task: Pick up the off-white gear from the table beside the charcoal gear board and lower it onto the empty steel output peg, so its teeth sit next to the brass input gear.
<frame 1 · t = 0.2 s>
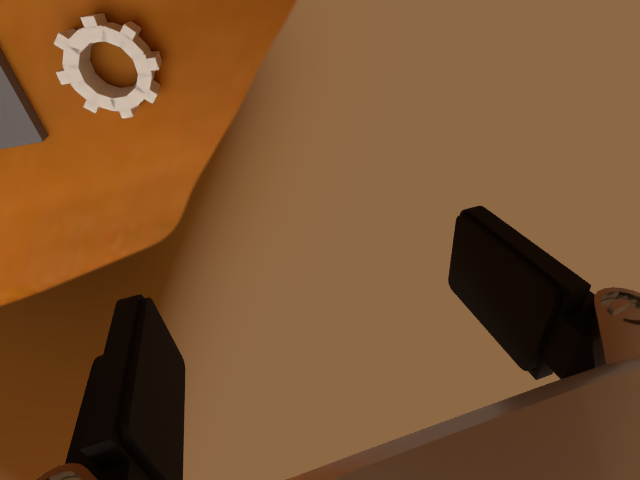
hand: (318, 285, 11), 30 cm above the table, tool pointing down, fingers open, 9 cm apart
gear: (117, 62, 32), on the table
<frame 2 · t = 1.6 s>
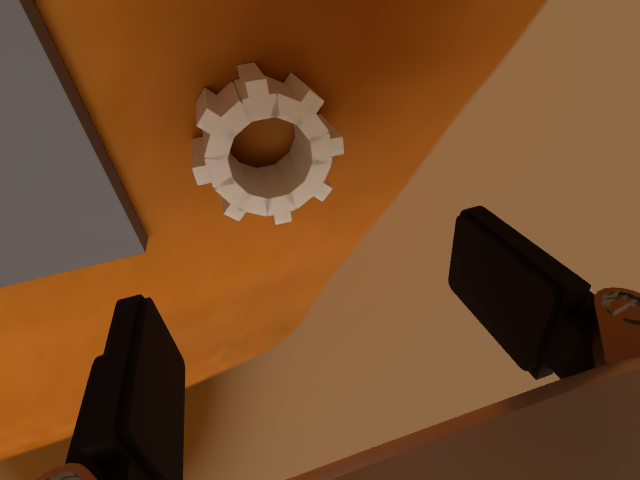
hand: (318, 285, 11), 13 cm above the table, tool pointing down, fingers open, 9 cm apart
gear: (259, 133, 21), on the table
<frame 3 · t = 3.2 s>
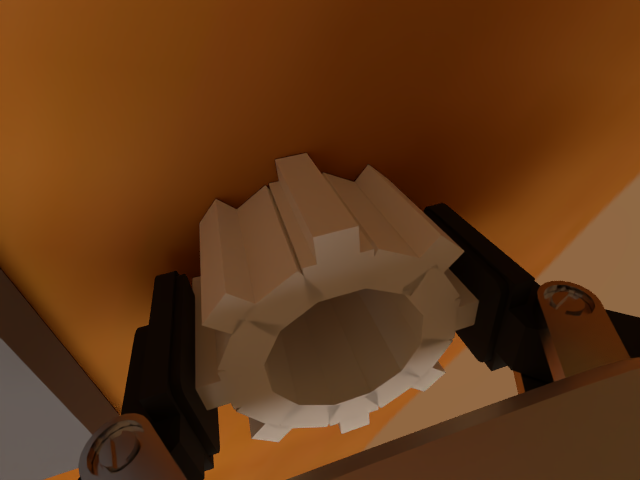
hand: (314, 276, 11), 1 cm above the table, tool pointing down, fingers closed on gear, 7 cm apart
gear: (307, 259, 12), on the table, touching gripper
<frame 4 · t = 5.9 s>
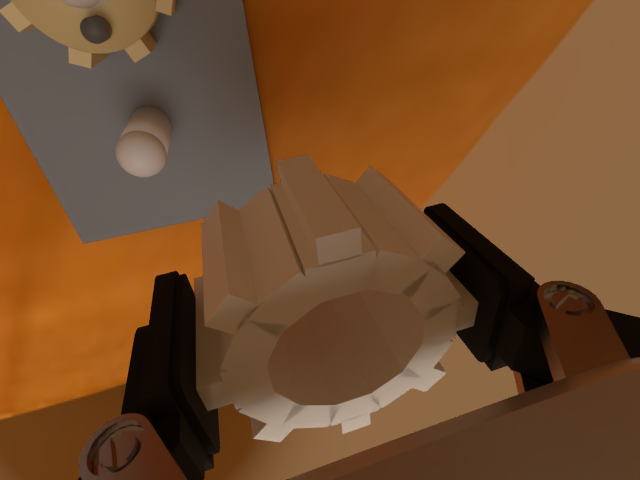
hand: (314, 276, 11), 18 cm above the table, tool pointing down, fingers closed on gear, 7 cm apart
gear board: (131, 56, 22), on the table
gear: (308, 260, 12), point 17 cm above the table, touching gripper
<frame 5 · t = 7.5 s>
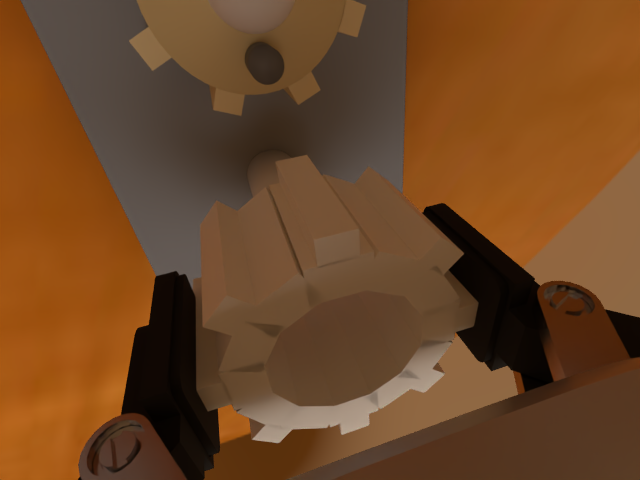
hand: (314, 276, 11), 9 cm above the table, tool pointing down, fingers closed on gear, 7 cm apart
gear board: (251, 85, 17), on the table
gear: (307, 260, 12), point 9 cm above the table, touching gripper
when the fingers open (6 cm above the table, at t = 8.7 s): gear drops 4 cm, resting on gear board.
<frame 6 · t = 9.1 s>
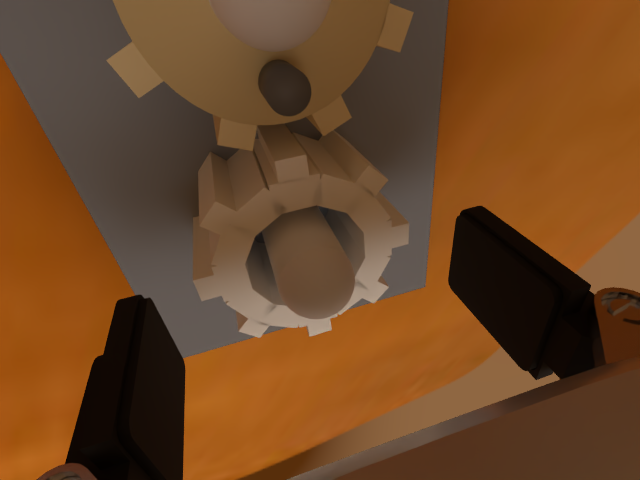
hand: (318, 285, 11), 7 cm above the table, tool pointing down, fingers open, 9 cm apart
gear board: (260, 104, 14), on the table
gear: (284, 205, 15), point 1 cm above the table, touching gear board
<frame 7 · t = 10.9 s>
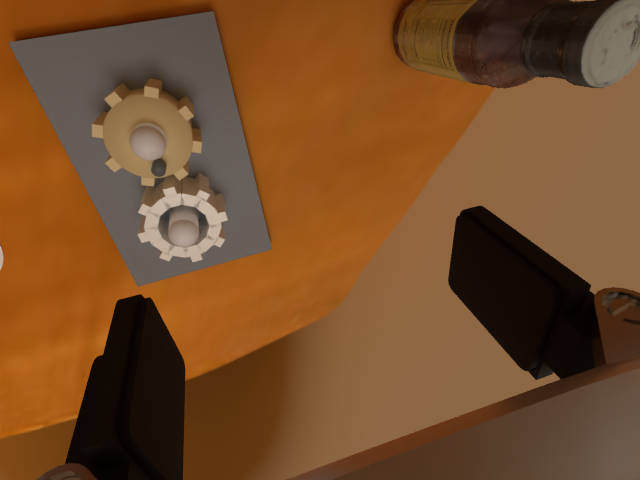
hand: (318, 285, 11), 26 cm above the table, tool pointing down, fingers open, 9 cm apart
sauce bottle: (416, 32, 34), on the table
gear board: (170, 163, 33), on the table
gear: (184, 207, 34), point 1 cm above the table, touching gear board
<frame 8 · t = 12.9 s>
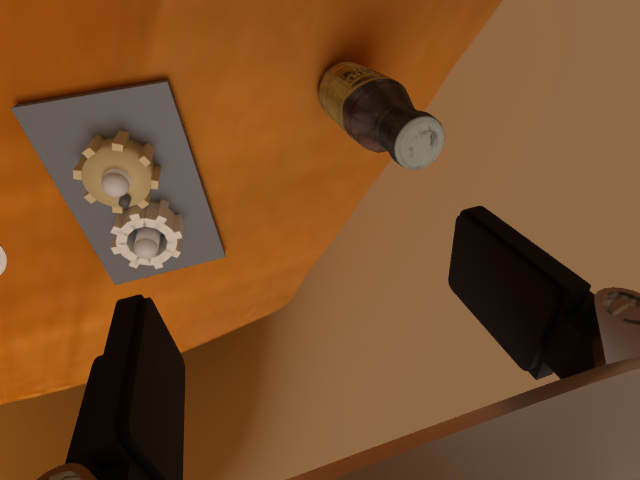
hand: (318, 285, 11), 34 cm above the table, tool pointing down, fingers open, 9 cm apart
sauce bottle: (338, 88, 42), on the table
gear board: (139, 190, 42), on the table
gear: (150, 224, 43), point 1 cm above the table, touching gear board
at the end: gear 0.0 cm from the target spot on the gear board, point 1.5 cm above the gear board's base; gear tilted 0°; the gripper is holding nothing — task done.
